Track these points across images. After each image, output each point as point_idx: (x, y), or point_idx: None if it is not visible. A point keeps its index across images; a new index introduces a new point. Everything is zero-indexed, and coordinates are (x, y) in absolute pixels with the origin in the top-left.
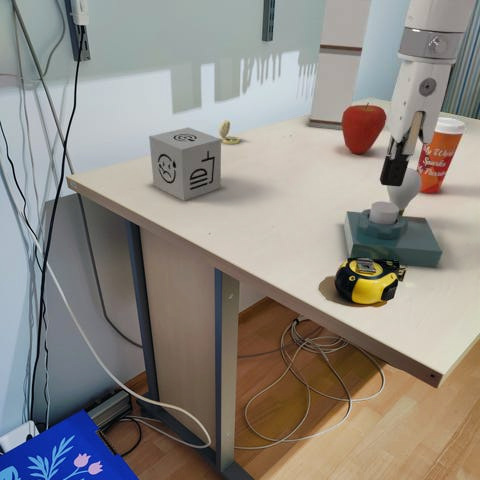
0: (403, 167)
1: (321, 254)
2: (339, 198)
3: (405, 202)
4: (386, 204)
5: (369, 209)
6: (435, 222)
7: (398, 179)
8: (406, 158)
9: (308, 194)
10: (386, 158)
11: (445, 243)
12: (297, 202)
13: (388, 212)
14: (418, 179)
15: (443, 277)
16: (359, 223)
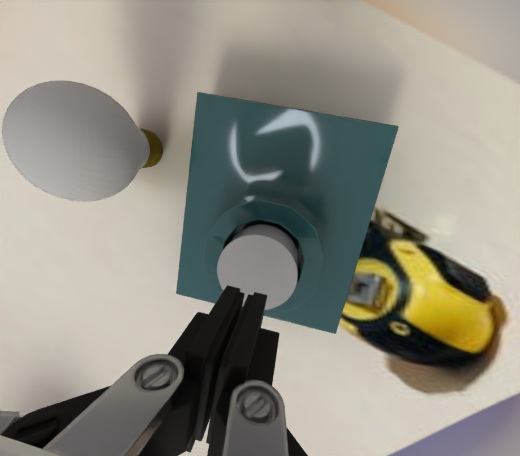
0: (251, 356)
1: (307, 353)
2: (59, 242)
3: (141, 141)
4: (238, 264)
5: (211, 276)
6: (151, 27)
7: (278, 338)
8: (296, 444)
9: (53, 302)
10: (193, 439)
11: (267, 49)
12: (95, 334)
13: (294, 280)
14: (83, 110)
15: (428, 131)
16: None
